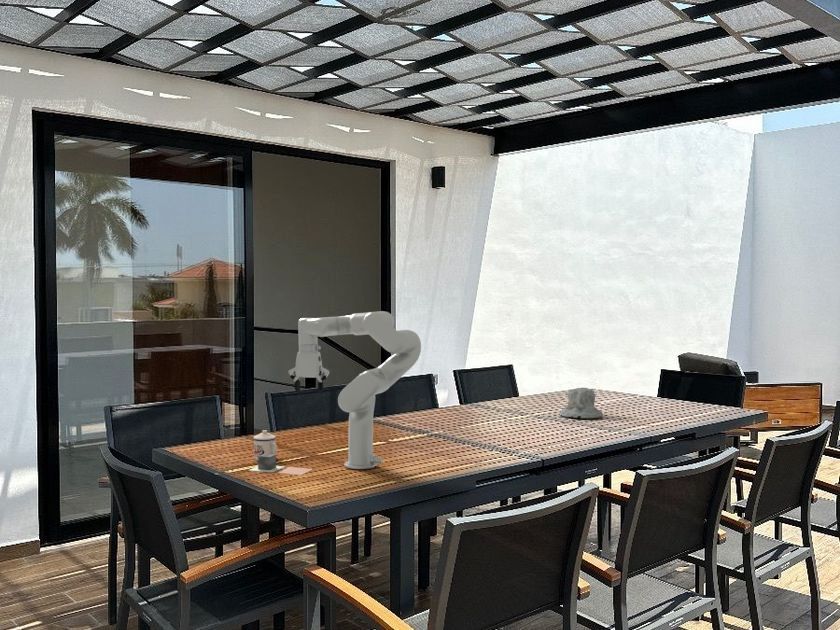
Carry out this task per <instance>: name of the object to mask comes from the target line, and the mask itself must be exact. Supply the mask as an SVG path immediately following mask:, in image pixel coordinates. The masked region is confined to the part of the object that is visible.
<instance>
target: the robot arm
mask: <svg viewBox="0 0 840 630" xmlns="http://www.w3.org/2000/svg"><path fill="white" fill-rule="evenodd" d="M394 325H395V318H394V316H393V315H392V314H391V313H390V312H389V311H383V310H381V311H380V310H379V311H368V312H357V313H352V314H350V315H341V316H327V317H316V318H315V317H301V318H300V319H298V323H297V327H298V328H297V329H298V331H297V332H298V336H297V337H298V352H297V353H296V360H295V367H292V368H291V369H289V370H287V372H288V374H289V377H290V378H291V379H292V381H293V382H294V390H295V393H297V392H301V381H300V380H301V378H316V380H317V381H318V382H317V392H318V393H322V392H323V390H324V382H325V381H326V379H327V378H328V376H329V375H330V370H329V369H327V368H325V367H323V363H322V362H323V361H322V357H321V352H320V351H319V350H321V348H322V346H321V345H319V343H318V337H320V338H324V337H329V336H330V337H331V336H332V337H333V336H343V335H354V336H364V335H368V336H370V337H371V339H373V340H374V341H375V342H376V343H377V344H379V345H380V346H381V347H382V348H383V349H384V350H385V351H387V352H389V353H390V354H392V355H391V356H390V357H388V358H387V359H386V360H385V361H384V362H383V363H381V364H380V365H378V367H375V368H372V369H367V370H364V371H363V372H361V373H359V374H358V375H357V376H356V377H355V378H354V379H353V380H352V381H351V382H349V383H348V384H347V385H346V386H345V387H343V388H342V390H341V391H340V393H339V394H338V397H337V404H338V407H339V408H340V409H341V410H342V411H343V412H344V413H349V414H348V415H349V416H348V429H347V431H348V445H347V446H348V453H347V455H348V459H347V460H346V461H345V462H344V467H346V468H347V469H352V470H353V469H354V470H368V469H373V468H375V466H376V467H377V465H378V464H383V458H382V457H377V456H376V453H374V446H373V445H374V411H375V405H376V395H378V394H382V393H384V392H386V391H387V390H389V389H390V387H392V386H393V385H394V384H395V383H396V382H397V381H398V380H400V379H401V378H402V377H403V376H404V375H405V374H406V373H407V372H408V371H410V370H411V369H412V367H413V366H415V365H416V363H417V361H418V360H419V357H420V355H421V353H422V352H421V351H422V343H421V338H420V336H419V335H418V333H416V332H415V331H413V330H410V329H401V330H397V329H396V328H395V327H394ZM294 372H295V374H294ZM323 373H324V374H323Z"/></svg>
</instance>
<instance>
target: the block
mask: <svg viewBox="0 0 840 630" xmlns="http://www.w3.org/2000/svg"><path fill="white" fill-rule="evenodd" d="M257 466H258V469H262V470H271V469H274V468H276V466H277V453H276V454H265V453H264V454H262V455H260V456H258V460H257Z"/></svg>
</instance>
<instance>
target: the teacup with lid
mask: <svg viewBox="0 0 840 630" xmlns="http://www.w3.org/2000/svg"><path fill="white" fill-rule="evenodd" d="M276 439H277V437H276V435H274V434H271V433H270V432H268V430H266V429H265V430H264V429H263V430H262V431H261V432H260V433H258V434H257V435H254V436H253V438H252V440H253V460H255V461H258V456H260V455H262V454H264V453H265V454H276V455H277V453H278V445H277V443H276Z"/></svg>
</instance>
